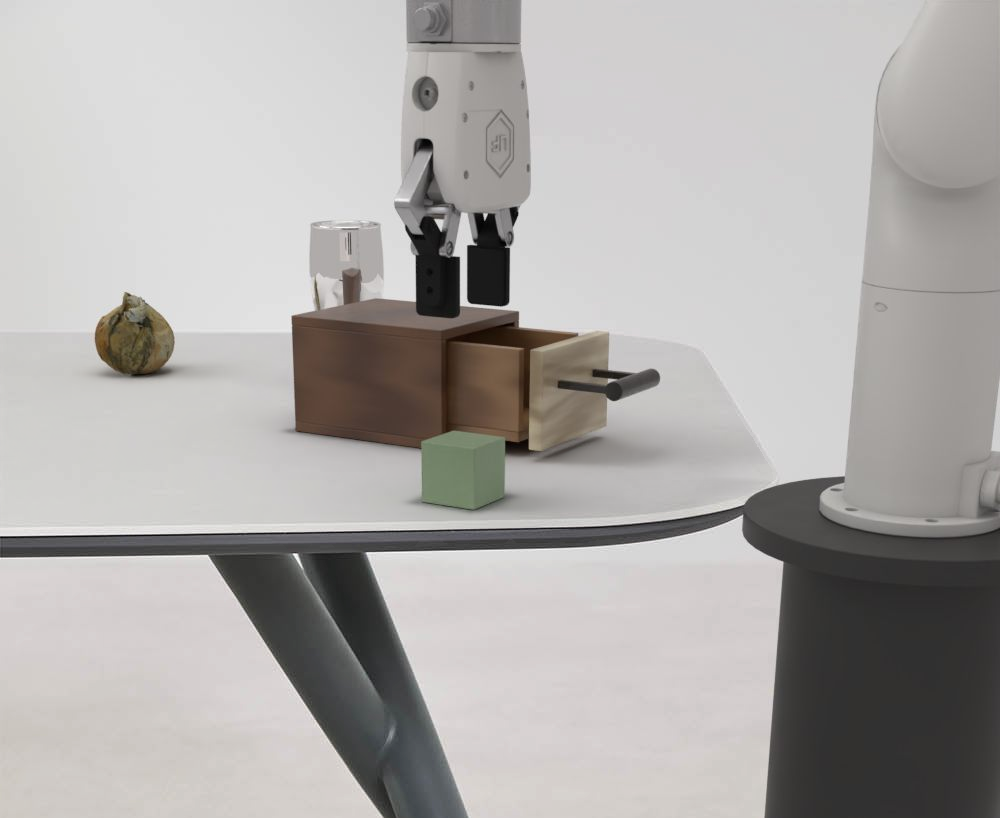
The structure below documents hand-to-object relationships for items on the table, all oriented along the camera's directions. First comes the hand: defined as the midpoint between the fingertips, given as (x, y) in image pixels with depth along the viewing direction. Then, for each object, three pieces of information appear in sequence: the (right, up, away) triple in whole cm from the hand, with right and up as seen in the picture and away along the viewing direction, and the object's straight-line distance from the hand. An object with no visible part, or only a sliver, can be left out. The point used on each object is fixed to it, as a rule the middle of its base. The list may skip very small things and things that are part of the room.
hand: (463, 307), depth 119 cm
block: (0, -13, +5) cm, 14 cm away
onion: (-33, +7, +52) cm, 62 cm away
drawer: (+5, -5, +22) cm, 23 cm away
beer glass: (-12, +4, +46) cm, 47 cm away
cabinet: (-5, -3, +28) cm, 29 cm away
